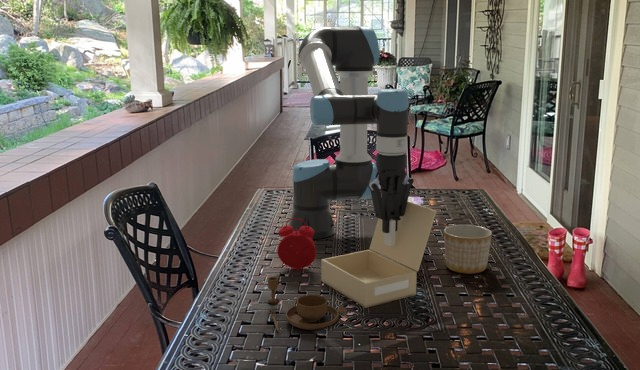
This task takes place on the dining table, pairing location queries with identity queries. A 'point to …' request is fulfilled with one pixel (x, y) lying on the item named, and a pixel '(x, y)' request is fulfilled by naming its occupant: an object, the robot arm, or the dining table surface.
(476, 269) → the planter
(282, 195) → the dining table surface
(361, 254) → the box
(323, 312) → the place setting
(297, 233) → the alarm clock
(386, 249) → the lid
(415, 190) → the dining table surface
